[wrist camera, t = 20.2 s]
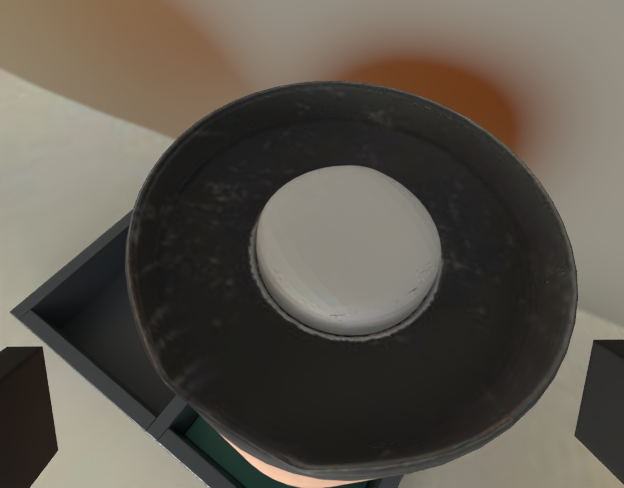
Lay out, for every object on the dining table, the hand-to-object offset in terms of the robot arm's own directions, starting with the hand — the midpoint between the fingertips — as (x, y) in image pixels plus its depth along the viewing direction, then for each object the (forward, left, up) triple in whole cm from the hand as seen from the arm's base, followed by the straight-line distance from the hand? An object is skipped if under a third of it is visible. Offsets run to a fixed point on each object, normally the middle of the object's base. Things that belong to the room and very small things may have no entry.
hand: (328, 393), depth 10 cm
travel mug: (-1, +2, -16) cm, 16 cm away
